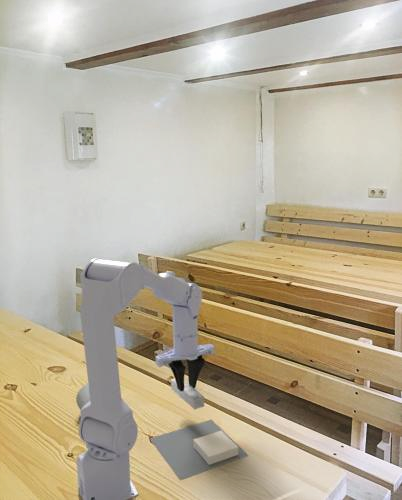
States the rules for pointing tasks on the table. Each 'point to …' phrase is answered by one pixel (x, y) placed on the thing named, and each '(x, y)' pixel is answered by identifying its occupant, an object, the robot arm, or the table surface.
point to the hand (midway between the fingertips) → (186, 388)
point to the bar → (189, 394)
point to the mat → (189, 449)
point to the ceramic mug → (83, 396)
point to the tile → (215, 447)
